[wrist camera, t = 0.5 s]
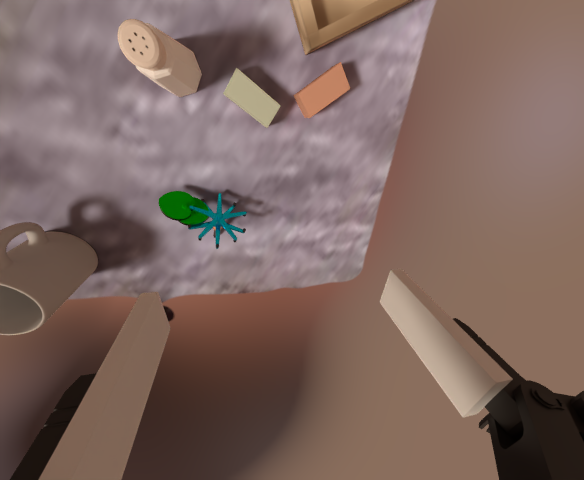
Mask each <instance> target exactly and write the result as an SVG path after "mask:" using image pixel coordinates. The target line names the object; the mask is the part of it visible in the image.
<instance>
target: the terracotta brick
mask: <svg viewBox="0 0 584 480" xmlns="http://www.w3.org/2000/svg"><path fill="white" fill-rule="evenodd" d="M349 89H350V86H349V83H348V81H347V78H346V75H345V73H344V70H343V67H342V64H341V62H340V63H338V64H336V65H335V66H333V67H331V68H330V69H329V70H327V71H326V72H325V73H323V74H322V75H320V76H319V77H318V78H316V79H315V80H314V81H312V82H311V83H310V84H308V85H307V86H306V87H304V88H303V89H302V90H300V91H299V92H298V93H296V94H295V95H294V98H295V100H296V102H297V104H298V106H299V107H300V109H301V111H302V113H303V115H304V117H305V118H310V117H312V116H313V115H315V114H316V113H317V112H319V111H320V110H322V109H323V108H324V107H326V106H327V105H329V104H330V103H331V102H333V101H334V100H335V99H337V98H338V97H340V96H341V95H342V94H344V93H345V92H347V91H348V90H349Z"/></svg>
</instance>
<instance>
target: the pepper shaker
mask: <svg viewBox="0 0 584 480" xmlns="http://www.w3.org/2000/svg"><path fill="white" fill-rule="evenodd" d="M118 42H119V45H120V48H121V50H122V52H123V53H124V55H125V56H126V57H127V59H128V60H129V61H131V62H132V63H133V64H135V66H136V68H137V69H138V70H139V71H140V72H141V73H143V74H144V75H146V76H147V77H148V78H150V79H151V80H152V81H154V82H155V83H157V84H158V85H159V86H161V87H162V88H164V89H166V90H168V91H169V92H171V93H173V94H175V95H176V96H178V97H183V96H186V95H189V94H192V93H195V92H196V91H197V88H198V85H199V82H200V79H201V75H202V73H201V70H200V68H199V65H198V63H197V60H196V58H195V55H194V53H193V51H191V50H190V49H188V48H187V47H185V46H184V45H182V44H180V43H179V42H177V41H176V40H174V39H173V38H171V37H170V36H168V35H166V34H165V33H163V32H162V31H160V30H158V29H157V28H155V27H154V26H152V25H150V24H148V23H146V24H145V23H143V22H142V21H139V20H136V19H129V20H125V21H124V22H123V23H122V24H121V25H120V27H119V30H118Z"/></svg>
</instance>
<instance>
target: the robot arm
mask: <svg viewBox="0 0 584 480" xmlns="http://www.w3.org/2000/svg"><path fill="white" fill-rule="evenodd" d="M380 303H381V304H382V306H383V307H384V309H385V310H386V312H387V313H388V314H389V316H390V317H391V319H392V320H393V321H394V323H395V324H396V325H397V327H398V328H399V330H400V331H401V332H402V334H403V335H404V337H405V338H406V339H407V341H408V342H409V344H410V345H411V346H412V348H413V349H414V350H415V352H416V353H417V355H418V356H419V357H420V358H421V360H422V362H423V363H424V364H425V366H426V367H427V368H428V370H429V371H430V372H431V374H432V375H433V377H434V378H435V380H436V381H437V382H438V384H439V385H440V387H441V388H442V389H443V391H444V392H445V393H446V395H447V396H448V398H449V399H450V400H451V402H452V403H453V404H454V406H455V407H456V409H457V410H458V411H459V413H460V414H461V416H462V417H467V416H471V415H475V414H478V413H479V412H480V411H481V410H482V409H483V408H484V407H485V408H486V409H487V410H488V411H489V414H488V415H487V416H485V417H484V418H483V420H481V421H480V423H479V428H481V429H483V428H484V427H485V426H486V425H487V424H489V428H488V429H487V432H488V433H490V434H491V439H492V445H493V450H494V455H495V460H496V465H497V471H498V476H499V480H584V391H582V392H581V393H579V394H578V395H577V396H568V395H563V394H557V393H553V392H552V391H550V390H549V389H548V388H546V387H544V386H543V385H541V384H539V383H536V382H533V381H526V380H525V379H524V378H522V377H521V376H520V375H519V374H518V373H517V372H516V371H515V370H514V369H513V368H512V367H510V366H509V365H508V364H507V363H506V362H505V361H504V360H503V359H502V358H501V357H500V356H499V355H498V354H497V353H496V352H495V351H494V350H493V349H491V348H490V347H489V346H488V345H486V343H485V342H484V341H483V340H482V339H481V338H480V337H478V335H477V334H476V333H475V332H474V331H473V330H472V329H471V328H470V327H468V326H467V325H466V324H464V323H463V322H461V321H460V320H458V319H456V318H454V319H452V318H451V317H450V316H449V315H448V314H447V313H446V312H445V311H444V310H443V309H442V308H441V307H439V305H438V304H437V303H436V302H434V300H432V298H430V296H429V295H427V294H426V293H425V292H424V291H423V290H422V289H421V288H420V287H419V286H418V285H417V284H416V283H415V282H414V281H413V280H412V279H411V278H410V277H409V276H408V275H407V274H406V273H405V272H404V271H403V270H402V269H396V270H391V271H390V274H389V277H388V280H387V282H386V285H385V288H384V291H383V294H382V297H381V300H380ZM169 331H170V325H169V322H168V320H167V317H166V314H165V311H164V308H163V305H162V302H161V300H160V297H159V294H158V292H151V293H141V294H140V296H139V298H138V300H137V302H136V303H135V305H134V307H133V309H132V311H131V312H130V314H129V316H128V318H127V320H126V322H125V323H124V325H123V327H122V329H121V331H120V332H119V334H118V336H117V338H116V340H115V342H114V343H113V345H112V347H111V349H110V351H109V353H108V355H107V356H106V358H105V360H104V362H103V363H102V365H101V367H100V369H99V371H98V372H97V373H96V374H89V375H83V376H80V377H79V378H78V379H77V380H76V381H75V382H74V383H73V384H72V385H71V386H70V387H69V388H68V389H67V390H66V391H65V393H64V394H63V396H62V397H61V399H60V401H59V402H58V404H57V405H56V407H55V409H54V412H53V413H51V415H50V417H49V418H48V420H47V421H46V423H45V425H44V428H43V429H41V431H40V432H39V434H38V436H37V437H36V439H35V440H34V442H33V444H32V445H31V447H30V448H29V450H28V452H27V453H26V455H25V456H24V458H23V460H22V461H21V463H20V464H19V466H18V467H17V469H16V471H15V472H14V474H13V476H12V477H11V479H10V480H121V479H122V475H123V472H124V469H125V466H126V463H127V460H128V457H129V454H130V451H131V448H132V445H133V442H134V438H135V436H136V432H137V429H138V426H139V423H140V420H141V417H142V414H143V411H144V408H145V405H146V402H147V399H148V395H149V393H150V389H151V386H152V383H153V380H154V377H155V374H156V371H157V368H158V365H159V362H160V358H161V355H162V353H163V350H164V346H165V343H166V340H167V337H168V334H169Z"/></svg>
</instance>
